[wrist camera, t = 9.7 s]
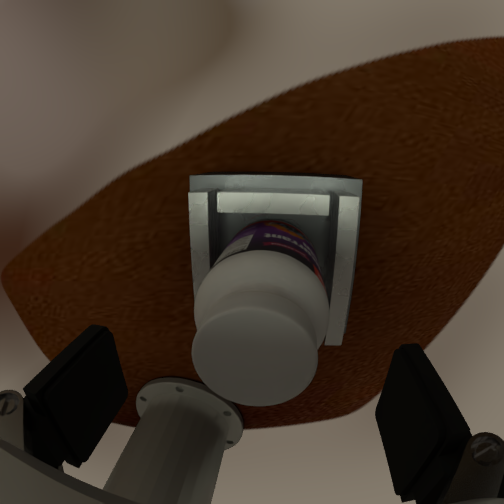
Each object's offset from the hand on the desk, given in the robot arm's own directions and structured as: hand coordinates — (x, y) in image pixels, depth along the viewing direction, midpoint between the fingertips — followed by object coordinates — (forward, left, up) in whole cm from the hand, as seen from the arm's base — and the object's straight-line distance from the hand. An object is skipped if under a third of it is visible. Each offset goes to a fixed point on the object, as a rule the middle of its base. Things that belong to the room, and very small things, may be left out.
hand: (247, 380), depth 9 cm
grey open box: (+1, 0, -15) cm, 15 cm away
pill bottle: (+1, 0, -10) cm, 10 cm away
